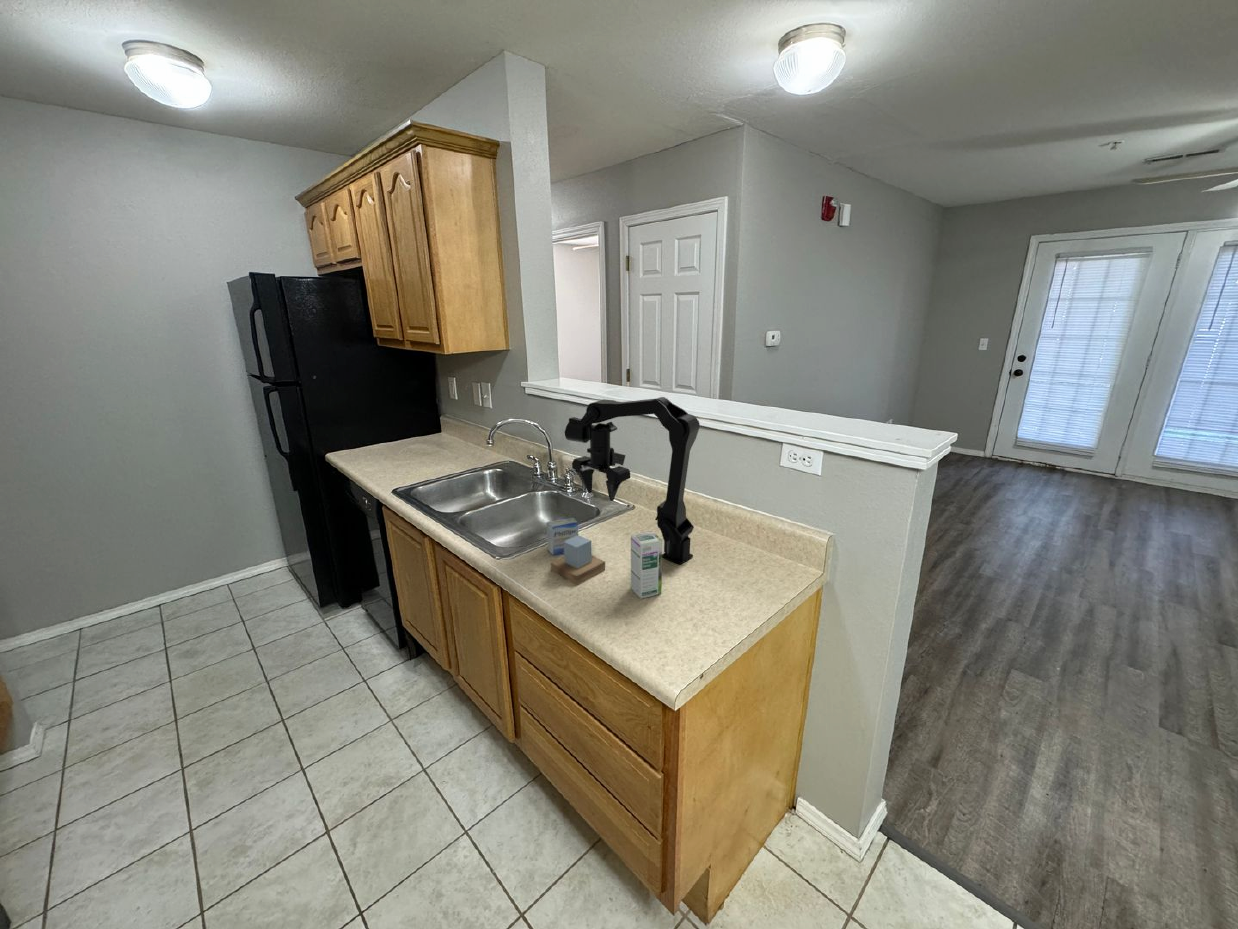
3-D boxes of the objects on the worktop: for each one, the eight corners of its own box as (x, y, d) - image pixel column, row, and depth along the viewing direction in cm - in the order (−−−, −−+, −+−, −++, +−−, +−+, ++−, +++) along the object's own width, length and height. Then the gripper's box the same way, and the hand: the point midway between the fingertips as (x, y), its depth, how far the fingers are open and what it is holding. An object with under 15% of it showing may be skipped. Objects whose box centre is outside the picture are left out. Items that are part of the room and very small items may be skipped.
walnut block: (605, 571, 132) (605, 561, 131) (577, 586, 125) (577, 576, 124) (578, 559, 138) (578, 549, 137) (551, 572, 131) (550, 562, 130)
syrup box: (640, 599, 119) (641, 544, 114) (629, 587, 124) (630, 533, 119) (661, 594, 121) (663, 539, 116) (650, 582, 126) (651, 529, 121)
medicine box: (552, 556, 139) (551, 527, 136) (547, 549, 143) (546, 521, 140) (579, 549, 143) (578, 521, 140) (573, 543, 146) (572, 516, 144)
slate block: (591, 561, 131) (591, 540, 129) (577, 568, 127) (576, 547, 125) (578, 555, 134) (577, 535, 132) (564, 562, 130) (563, 541, 129)
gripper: (643, 445, 141) (643, 497, 146) (597, 434, 153) (598, 482, 158) (616, 453, 133) (616, 508, 138) (570, 441, 146) (571, 491, 150)
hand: (600, 496), depth 146 cm, fingers open, 9 cm apart
